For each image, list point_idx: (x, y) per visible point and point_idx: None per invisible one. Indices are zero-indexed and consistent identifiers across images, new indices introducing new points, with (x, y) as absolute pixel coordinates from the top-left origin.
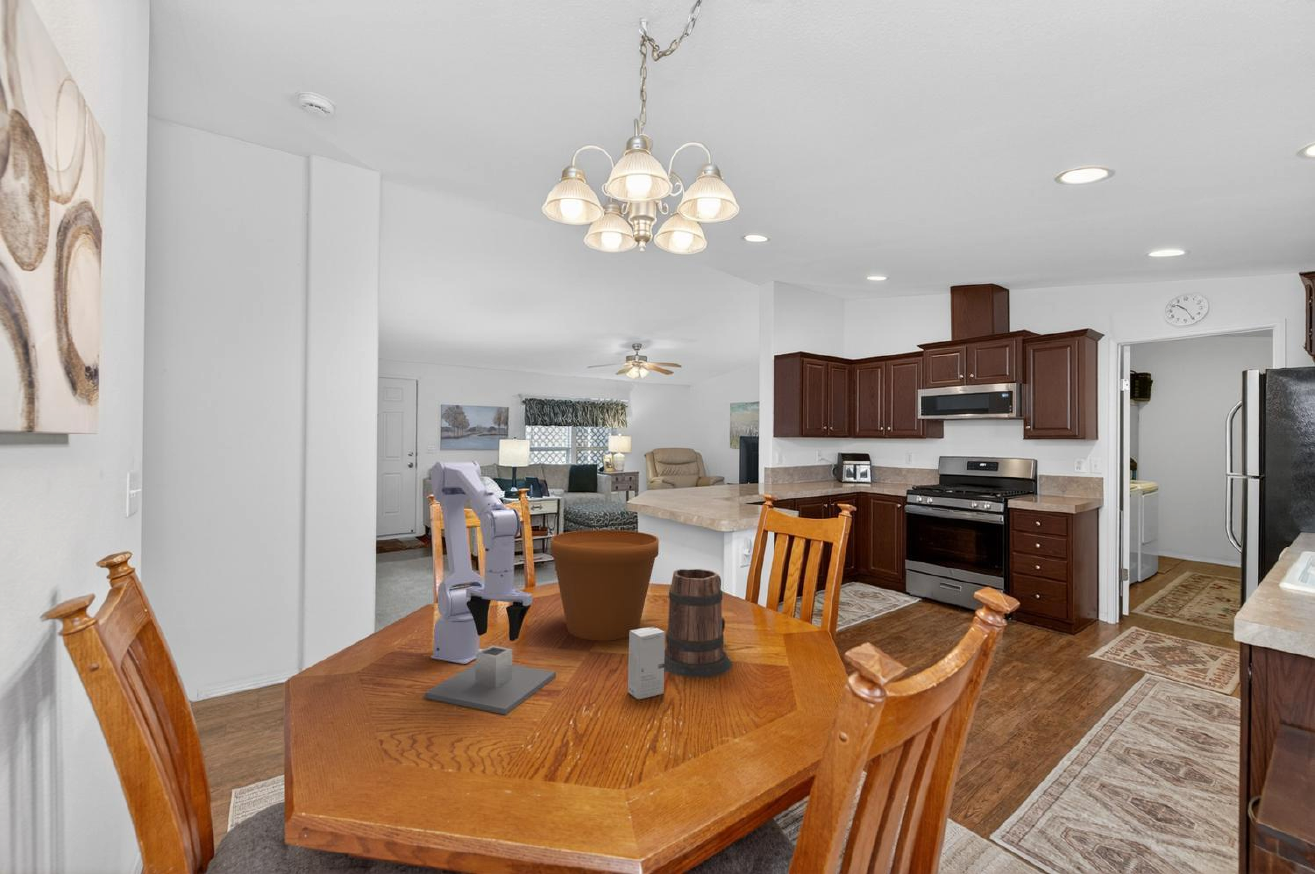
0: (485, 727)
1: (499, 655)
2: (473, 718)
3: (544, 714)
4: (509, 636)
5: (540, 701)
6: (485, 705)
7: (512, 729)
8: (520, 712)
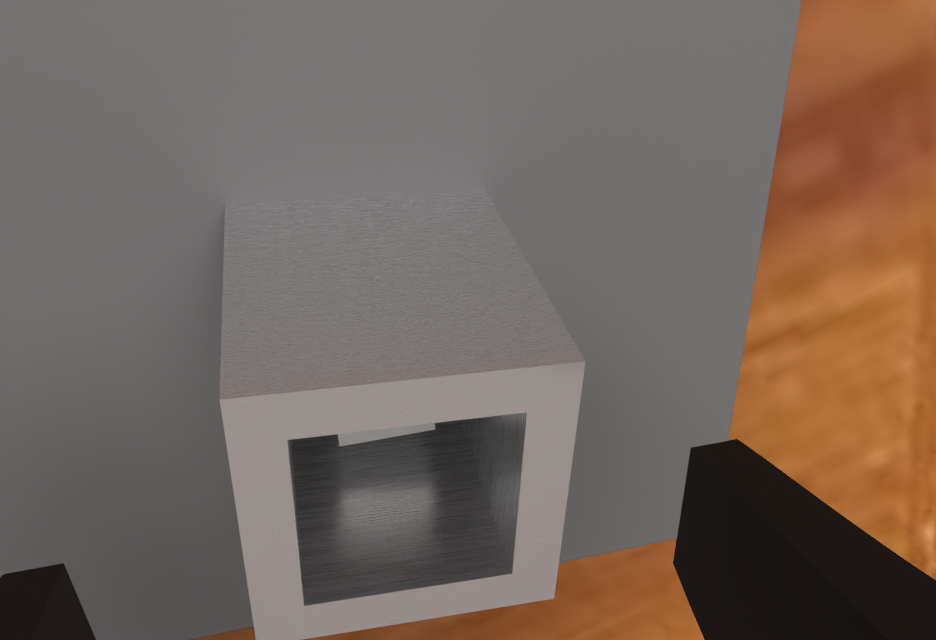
0: (663, 620)
1: (549, 549)
2: (549, 607)
3: (910, 395)
4: (705, 629)
5: (833, 287)
6: (567, 559)
7: None
8: (765, 447)
